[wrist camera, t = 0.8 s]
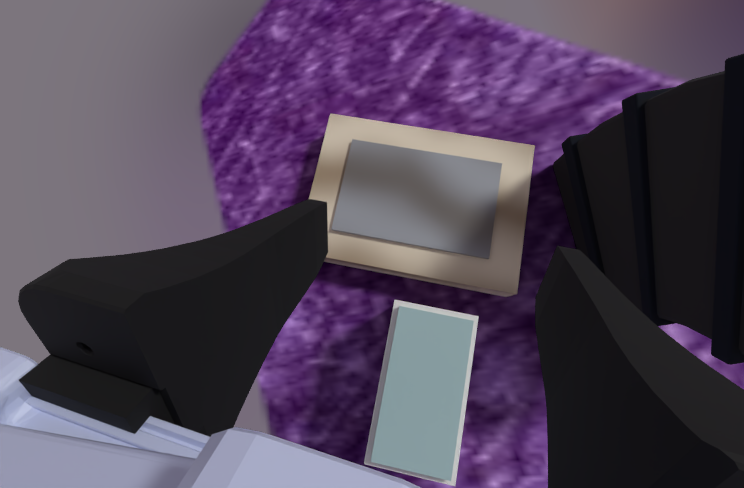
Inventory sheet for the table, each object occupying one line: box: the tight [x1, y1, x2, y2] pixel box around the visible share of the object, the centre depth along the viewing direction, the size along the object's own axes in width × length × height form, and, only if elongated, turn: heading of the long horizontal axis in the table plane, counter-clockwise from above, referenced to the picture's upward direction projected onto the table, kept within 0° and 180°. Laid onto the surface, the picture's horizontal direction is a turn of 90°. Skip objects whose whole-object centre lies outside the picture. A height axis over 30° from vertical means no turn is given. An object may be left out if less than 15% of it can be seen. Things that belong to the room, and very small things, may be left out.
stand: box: [309, 114, 535, 297], centre depth 25 cm, size 10×14×2 cm
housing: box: [364, 300, 479, 486], centre depth 21 cm, size 8×4×6 cm, turn 168°
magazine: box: [553, 54, 744, 364], centre depth 19 cm, size 4×13×15 cm, turn 8°
